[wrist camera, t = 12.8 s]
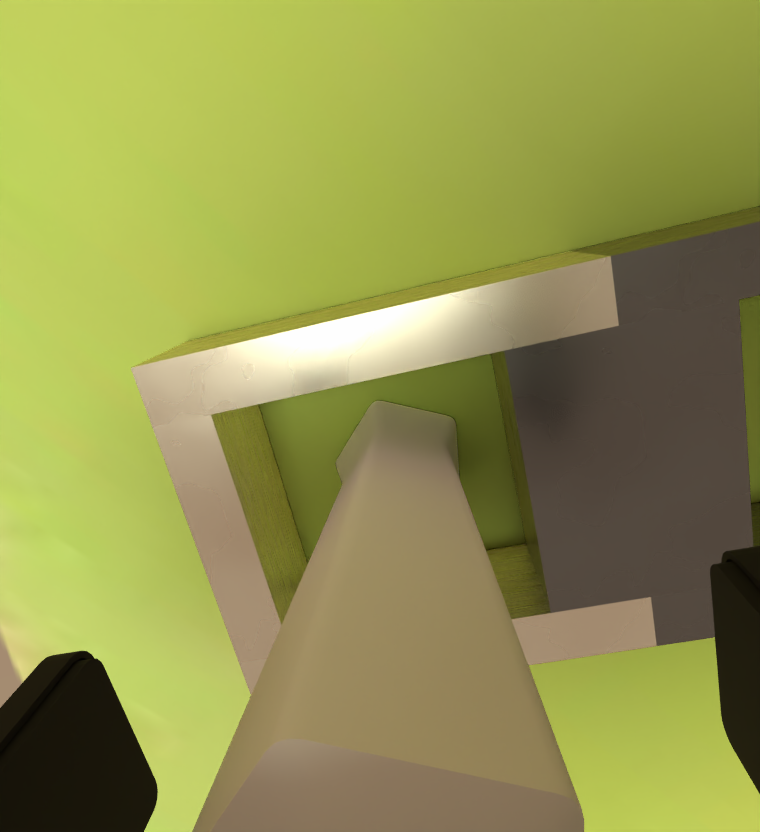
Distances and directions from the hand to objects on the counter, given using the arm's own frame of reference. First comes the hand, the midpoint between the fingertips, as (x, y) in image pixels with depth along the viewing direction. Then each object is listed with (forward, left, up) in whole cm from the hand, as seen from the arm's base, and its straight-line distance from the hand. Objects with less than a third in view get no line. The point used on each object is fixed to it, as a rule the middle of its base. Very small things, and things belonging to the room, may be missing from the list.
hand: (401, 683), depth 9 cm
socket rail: (-5, 0, -9) cm, 11 cm away
